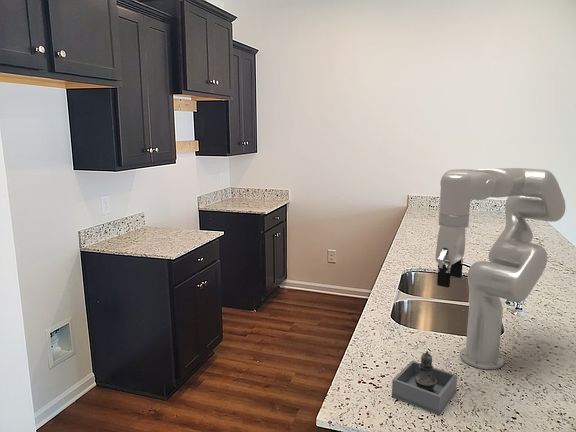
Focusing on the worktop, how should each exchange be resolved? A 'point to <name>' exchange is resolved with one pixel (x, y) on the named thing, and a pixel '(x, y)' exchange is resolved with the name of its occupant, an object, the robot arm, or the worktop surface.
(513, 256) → the robot arm
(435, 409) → the bin
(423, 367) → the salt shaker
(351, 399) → the worktop surface
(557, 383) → the worktop surface
